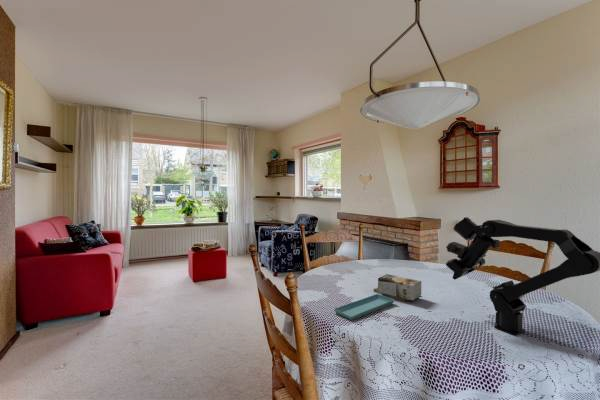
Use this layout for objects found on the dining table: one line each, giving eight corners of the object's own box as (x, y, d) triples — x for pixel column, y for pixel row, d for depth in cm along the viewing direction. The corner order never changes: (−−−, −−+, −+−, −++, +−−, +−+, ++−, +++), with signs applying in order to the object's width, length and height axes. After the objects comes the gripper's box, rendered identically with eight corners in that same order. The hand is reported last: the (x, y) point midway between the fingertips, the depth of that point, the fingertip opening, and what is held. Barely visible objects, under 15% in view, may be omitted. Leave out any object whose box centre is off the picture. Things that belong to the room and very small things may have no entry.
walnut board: (420, 295, 130) (420, 292, 130) (404, 301, 123) (404, 298, 123) (389, 286, 143) (389, 284, 143) (373, 291, 136) (373, 288, 136)
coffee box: (413, 285, 120) (377, 277, 131) (413, 300, 121) (377, 292, 131) (421, 280, 127) (386, 273, 138) (421, 295, 127) (386, 287, 138)
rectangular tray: (351, 322, 104) (351, 315, 104) (333, 314, 112) (333, 307, 112) (395, 305, 120) (395, 299, 120) (376, 299, 128) (376, 293, 128)
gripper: (469, 231, 117) (448, 259, 125) (445, 238, 106) (424, 268, 114) (496, 250, 110) (472, 278, 118) (473, 259, 99) (448, 290, 107)
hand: (454, 278), depth 114 cm, fingers closed
